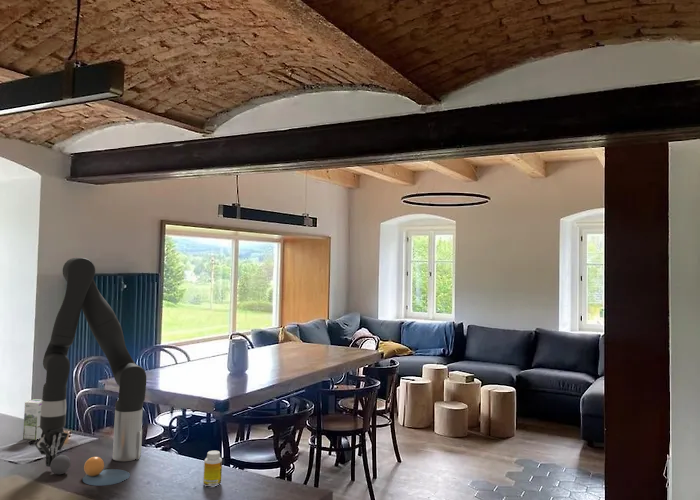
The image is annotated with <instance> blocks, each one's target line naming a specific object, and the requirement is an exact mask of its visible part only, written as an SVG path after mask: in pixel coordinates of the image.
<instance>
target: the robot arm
mask: <svg viewBox="0 0 700 500" xmlns="http://www.w3.org/2000/svg"><path fill="white" fill-rule="evenodd" d="M62 275H63V278H64V280H65V282H66V289H65V295H64V298H63V301H62V303H61V305H60V308H59V309H58V313H57V315H56V316H55V317H56V318H55V320H54V323H53V327H52V332H51V334H50V335H51V336H50V340H49V343H48V345H47V347H46V350H45V353H44V355H43V361H42V366H43V369H44V370H45V371H46V374H45V383H44V384H43V388H42V399H41V400H42V405H41V416H40V428H41V429H42V434H41V438H40V439H39V440H38V441H35V442H34V446H35V447H36V449H37V450H38V452H39V453H40V454H41V455H42V456H45V467H49V468H50V464H51V461H52V460H53V459H54V458H55V457H56V456H57V454H58V451H61V450H62V448H63V446H64V444H65V441H66V440H67V437H68V436H69V434H68V432H64V427H66V418H67V386H68V385H67V384H68V381H69V375H70V370H71V369H70V368H71V362H70V359H69V357H68V356H67V355H68V352H69V349H70V346H72V345H73V343H74V340H75V336H76V333H77V329H78V324H79V320H80V316H81V311H82V312H83V313H82V314H83V315H84V318H85V319H86V322H87V324H88V327H89V329H90V331H91V333H92V335H93V336H94V338H95V340H96V342H97V343H98V346H99V348H100V349H101V350H102V352H103V354H104V355H105V357H106V359H107V361H108V362H107V363H108V364H109V366H110V369H111V372H112V376H113V378H114V381H115V383H116V384H117V385H118V386H119V387H118V398H117V400H116V402H115V404H114V407H115V408H114V424H113V425H114V426H113V440H112V442H113V445H112V460H113V461H116V462H130V461H135V459H136V460H139V459H141V455H142V445H143V444H142V442H143V427H142V426H143V409H144V403H145V400H146V399H145V398H146V391H147V374H146V371H145V369H144V368H143V367H142V366H140V365H137V364H136V362H135V361H134V359H133V357H132V356H131V355H130V352H129V350H128V349H127V346H126V341H125V337H124V333H123V327H122V325H121V323H120V322H119V319H118V316H117V315H116V313H115V311H114V310H113V308H112V307H111V305H110V304H109V303H108V301H107V300H106V298H104V296H103V295H102V294H101V292H100V290H99V289H98V286H97V284H96V282H95V279H94V277H95V275H96V267H95V264H94V263H93V262H92V261H91V260H90V259H89V258H86V257H73V258H70V259H68V260H66V261H65V263H64V264H63V267H62Z"/></svg>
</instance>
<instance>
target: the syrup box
mask: <svg viewBox="0 0 700 500" xmlns="http://www.w3.org/2000/svg"><path fill="white" fill-rule="evenodd" d="M41 405H42V399H38V398H37V399H36V398H34V399H29V400H27V401H25V402H24V412H23V413H24V415H23V416H24V417H23V433H22V439H23V440H27V441H28V440H29V441H30V440H31V441H34V440H35V441H38V440H40V439H41V434H42V429H41V428H40V416H41ZM39 438H40V439H39ZM37 439H38V440H37Z"/></svg>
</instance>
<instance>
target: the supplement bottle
mask: <svg viewBox="0 0 700 500" xmlns="http://www.w3.org/2000/svg"><path fill="white" fill-rule="evenodd" d="M222 469H223V458H222V457H221V453H220V451H219V450H209V451H208V452H207V453H206V457H205V459H204V461H203V481H202V483H203V486H204V485H206V486H215V485H218V484H220V483H222ZM220 485H221V484H220ZM206 486H205V487H206Z"/></svg>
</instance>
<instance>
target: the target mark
mask: <svg viewBox="0 0 700 500" xmlns="http://www.w3.org/2000/svg"><path fill="white" fill-rule="evenodd" d="M130 475H131V474H130V472H128V471H126V470H124V469H116V468H115V469H114V468H108V469H103V471H102V472H101V473H100V474H99V475H97V476H89V475H87V474H85V476H83V477H82V482H83V483H84V484H86V485H88V486H89V485H90V486H97V487H98V486H99V487H101V486H110V485H111V486H112V485H115V484H116V485H117V484H120V483H123V482H125V481H126V479H127V480H128V479H129V478H130ZM124 480H125V481H124ZM122 481H123V482H122Z"/></svg>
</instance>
